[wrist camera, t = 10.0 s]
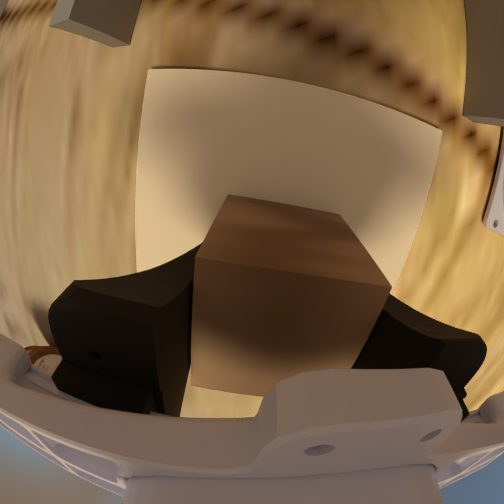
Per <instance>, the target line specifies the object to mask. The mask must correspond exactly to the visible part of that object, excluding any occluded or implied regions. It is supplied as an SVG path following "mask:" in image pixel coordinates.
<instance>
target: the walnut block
mask: <svg viewBox="0 0 504 504" xmlns="http://www.w3.org/2000/svg"><path fill="white" fill-rule="evenodd" d="M391 289H392V286H391V284H390V283H389V281H388V280H387V278H386V277H385V275H384V274H383V272H382V271H381V270H380V268H379V267H378V265H377V264H376V262H375V261H374V260H373V258H372V257H371V255H370V254H369V253H368V251H367V250H366V248H365V247H364V246H363V244H362V243H361V242H360V240H359V239H358V238H357V236H356V235H355V234H354V232H353V231H352V230H351V228H350V227H349V226H348V224H347V223H346V222H345V221H344V219H343V218H342V217H341V215H340V214H335V213H330V212H325V211H320V210H315V209H310V208H305V207H300V206H294V205H289V204H283V203H278V202H272V201H266V200H260V199H254V198H248V197H242V196H235V195H229V194H228V195H227V197H226V199H225V201H224V203H223V205H222V206H221V208H220V210H219V212H218V214H217V216H216V218H215V219H214V221H213V223H212V225H211V227H210V229H209V231H208V233H207V235H206V237H205V238H204V240H203V242H202V244H201V246H200V248H199V250H198V252H197V254H196V256H195V267H194V284H193V304H192V331H191V386H196V387H201V388H206V389H212V390H218V391H224V392H231V393H238V394H245V395H253V396H262V397H264V396H265V395H266V394H267V393H268V392H269V391H270V390H271V388H272V387H273V386H274V385H275V384H276V383H277V382H279V381H281V380H284V379H286V378H288V377H291V376H293V375H295V374H298V373H300V372H302V371H308V370H318V369H327V368H339V369H351V368H352V366H353V364H354V363H355V361H356V359H357V357H358V355H359V354H360V352H361V350H362V348H363V346H364V345H365V343H366V341H367V339H368V337H369V335H370V333H371V331H372V329H373V327H374V325H375V323H376V321H377V319H378V317H379V315H380V313H381V311H382V309H383V307H384V305H385V302H386V300H387V298H388V296H389V294H390V291H391Z"/></svg>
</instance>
